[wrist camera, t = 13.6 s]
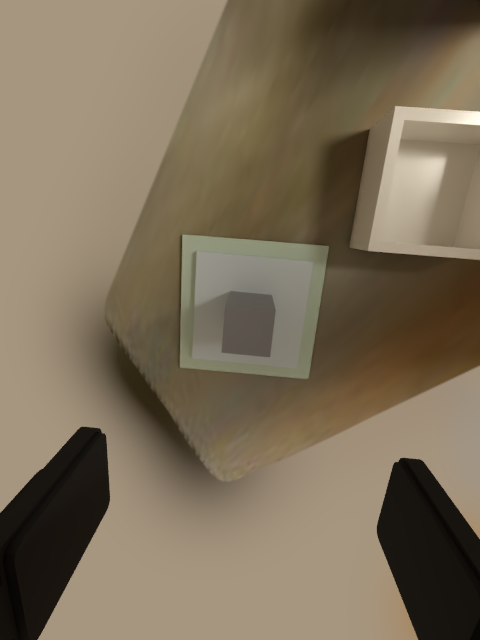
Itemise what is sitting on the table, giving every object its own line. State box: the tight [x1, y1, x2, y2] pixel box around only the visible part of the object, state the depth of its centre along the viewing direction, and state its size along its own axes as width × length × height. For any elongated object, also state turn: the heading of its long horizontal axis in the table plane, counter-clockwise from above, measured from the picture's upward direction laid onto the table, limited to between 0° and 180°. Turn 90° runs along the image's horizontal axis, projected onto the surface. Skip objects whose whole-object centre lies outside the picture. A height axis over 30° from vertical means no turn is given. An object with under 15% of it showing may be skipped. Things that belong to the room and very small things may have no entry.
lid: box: [192, 251, 313, 368], centre depth 28 cm, size 11×11×7 cm
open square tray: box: [349, 106, 480, 260], centre depth 25 cm, size 10×10×5 cm
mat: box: [180, 234, 329, 379], centre depth 31 cm, size 14×14×1 cm
